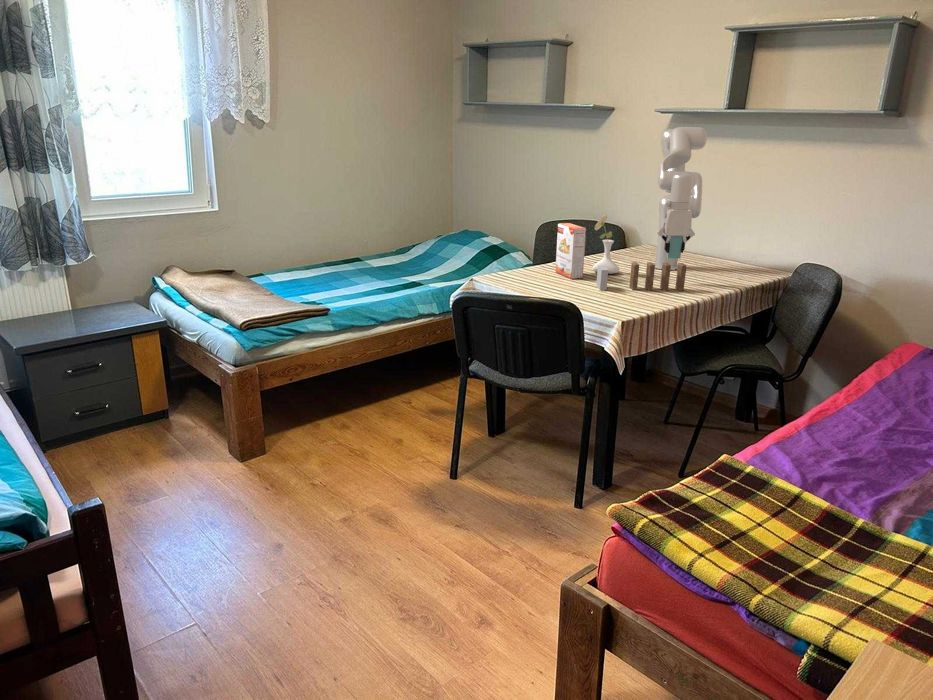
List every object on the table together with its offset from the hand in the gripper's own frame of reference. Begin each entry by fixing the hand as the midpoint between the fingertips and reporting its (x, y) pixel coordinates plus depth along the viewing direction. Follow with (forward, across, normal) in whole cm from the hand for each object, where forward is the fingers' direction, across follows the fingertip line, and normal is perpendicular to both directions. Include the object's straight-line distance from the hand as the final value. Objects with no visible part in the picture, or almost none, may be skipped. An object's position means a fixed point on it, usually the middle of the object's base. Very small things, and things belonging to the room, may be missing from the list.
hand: (674, 251), depth 285 cm
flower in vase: (+13, -24, +15) cm, 31 cm away
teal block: (+2, 0, 0) cm, 2 cm away
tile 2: (+12, -6, -13) cm, 19 cm away
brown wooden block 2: (+12, 0, -13) cm, 18 cm away
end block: (+12, -31, -13) cm, 35 cm away
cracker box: (+13, -40, +9) cm, 43 cm away
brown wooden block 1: (+12, -18, -13) cm, 25 cm away
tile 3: (+12, -12, -13) cm, 22 cm away
